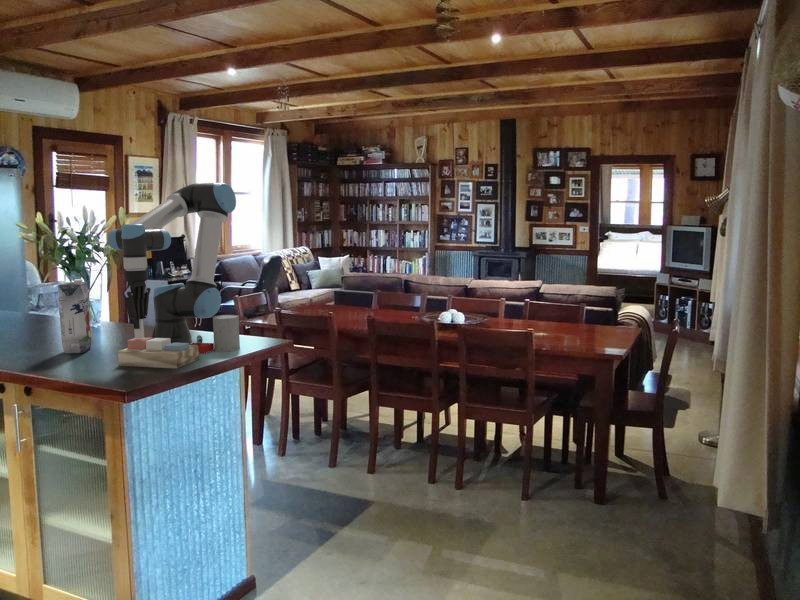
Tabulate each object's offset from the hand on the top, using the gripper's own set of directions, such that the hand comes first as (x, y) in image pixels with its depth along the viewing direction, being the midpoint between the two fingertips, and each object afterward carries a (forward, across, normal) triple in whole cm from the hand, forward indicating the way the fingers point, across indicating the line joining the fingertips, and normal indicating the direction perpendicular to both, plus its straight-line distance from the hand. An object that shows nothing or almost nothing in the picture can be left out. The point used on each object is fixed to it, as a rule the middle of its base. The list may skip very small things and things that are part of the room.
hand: (139, 337), depth 243 cm
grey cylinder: (+9, -26, +19) cm, 34 cm away
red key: (+4, 0, 0) cm, 4 cm away
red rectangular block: (+9, -20, +11) cm, 25 cm away
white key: (+4, 0, +7) cm, 8 cm away
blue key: (+5, 0, +14) cm, 15 cm away
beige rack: (+9, 0, +7) cm, 11 cm away
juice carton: (+9, -12, -35) cm, 38 cm away
